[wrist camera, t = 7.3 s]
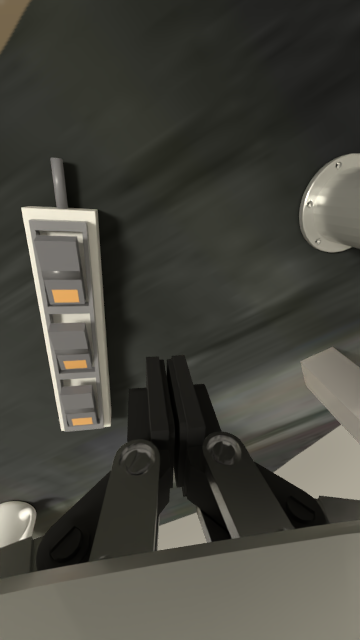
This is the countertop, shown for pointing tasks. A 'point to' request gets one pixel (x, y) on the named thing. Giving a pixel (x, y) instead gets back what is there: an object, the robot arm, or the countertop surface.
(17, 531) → the mug
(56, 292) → the rocker
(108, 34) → the countertop surface
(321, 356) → the soap dispenser
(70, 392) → the rocker
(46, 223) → the power strip
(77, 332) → the rocker
